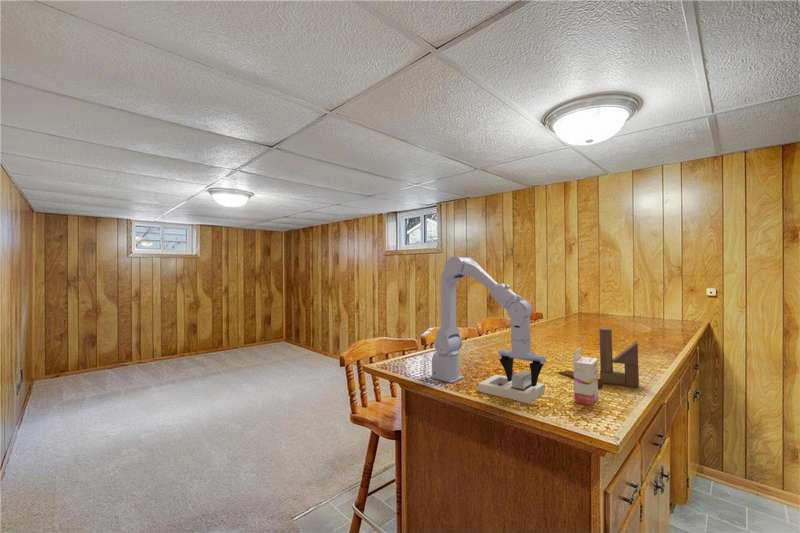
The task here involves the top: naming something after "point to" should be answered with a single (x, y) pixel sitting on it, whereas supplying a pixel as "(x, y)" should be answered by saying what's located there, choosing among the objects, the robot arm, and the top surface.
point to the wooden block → (626, 357)
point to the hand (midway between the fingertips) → (521, 383)
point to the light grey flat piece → (509, 389)
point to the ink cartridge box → (585, 379)
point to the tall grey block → (521, 380)
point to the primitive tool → (571, 375)
